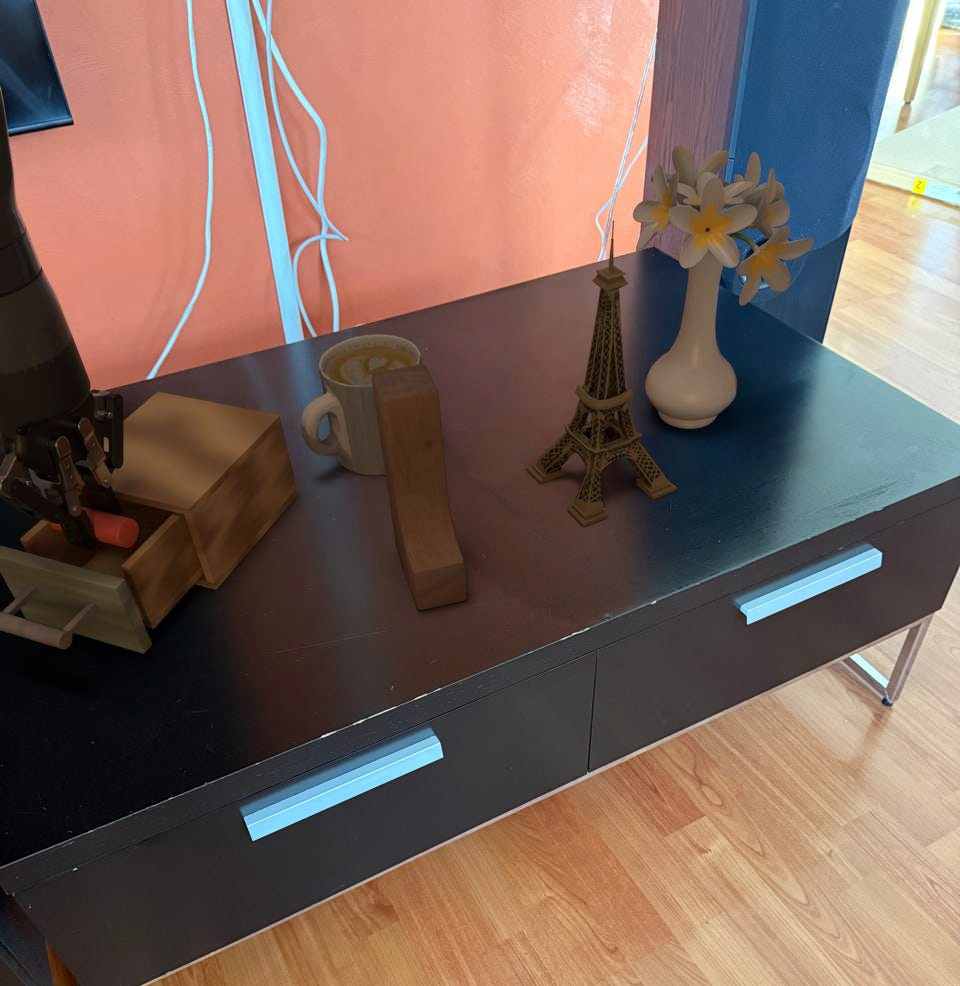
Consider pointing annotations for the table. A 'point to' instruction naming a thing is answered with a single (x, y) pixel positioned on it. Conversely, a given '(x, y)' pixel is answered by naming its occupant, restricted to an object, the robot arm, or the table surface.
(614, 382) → the eiffel tower
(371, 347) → the coffee mug
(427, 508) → the wooden block
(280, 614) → the table surface
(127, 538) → the red cylinder
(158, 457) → the cabinet
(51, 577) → the drawer
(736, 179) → the flower vase
